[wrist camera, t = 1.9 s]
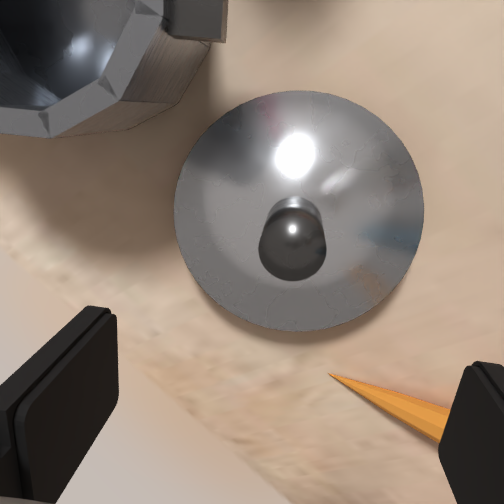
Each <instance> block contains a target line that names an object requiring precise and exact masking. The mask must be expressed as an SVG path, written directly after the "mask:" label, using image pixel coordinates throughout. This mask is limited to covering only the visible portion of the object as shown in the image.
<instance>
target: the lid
mask: <svg viewBox="0 0 504 504" xmlns="http://www.w3.org/2000/svg"><path fill="white" fill-rule="evenodd" d="M423 222H424V201H423V192H422V187H421V183H420V179H419V175H418V172H417V170H416V167H415V165H414V162H413V160H412V158H411V156H410V154H409V153H408V151H407V149H406V148H405V146H404V144H403V143H402V141H401V140H400V139H399V138H398V137H397V135H396V134H395V133H394V132H393V131H392V129H391V128H390V127H388V126H387V125H386V124H385V123H384V122H383V121H382V120H381V119H379V118H378V117H377V116H376V115H374V114H373V113H371V112H370V111H368V110H367V109H365V108H364V107H362V106H360V105H358V104H355V103H353V102H351V101H349V100H347V99H344V98H341V97H338V96H334V95H331V94H327V93H321V92H314V91H286V92H278V93H272V94H269V95H265V96H261V97H258V98H255V99H253V100H250V101H248V102H246V103H243V104H241V105H239V106H238V107H236V108H234V109H233V110H231V111H229V112H228V113H226V114H225V115H223V116H222V117H221V118H220V119H218V120H217V121H216V122H215V123H213V124H212V125H211V126H210V127H209V128H208V129H207V131H206V132H205V133H204V134H203V135H202V136H201V137H200V138H199V140H198V141H197V143H196V144H195V145H194V147H193V148H192V150H191V151H190V153H189V155H188V157H187V159H186V161H185V163H184V165H183V167H182V170H181V173H180V176H179V179H178V182H177V187H176V192H175V199H174V226H175V231H176V237H177V241H178V244H179V248H180V251H181V254H182V256H183V258H184V260H185V263H186V265H187V267H188V269H189V270H190V272H191V273H192V275H193V277H194V278H195V280H196V281H197V282H198V283H199V285H200V286H201V287H202V288H203V290H204V291H205V292H206V293H207V294H208V295H209V296H210V297H211V298H212V299H213V300H214V301H216V302H217V303H218V304H219V305H221V306H222V307H223V308H225V309H226V310H228V311H229V312H231V313H233V314H234V315H236V316H238V317H239V318H242V319H244V320H246V321H248V322H251V323H253V324H256V325H260V326H263V327H266V328H271V329H276V330H282V331H295V332H297V331H314V330H320V329H326V328H330V327H333V326H337V325H340V324H343V323H345V322H348V321H350V320H353V319H355V318H357V317H358V316H360V315H362V314H364V313H366V312H367V311H369V310H370V309H372V308H373V307H374V306H376V305H377V304H379V303H380V302H381V301H382V300H383V299H384V298H385V297H386V296H387V295H389V294H390V293H391V291H392V290H393V289H394V288H395V287H396V286H397V284H398V283H399V282H400V281H401V279H402V278H403V276H404V275H405V273H406V272H407V270H408V269H409V267H410V265H411V263H412V260H413V258H414V256H415V254H416V251H417V248H418V245H419V242H420V239H421V234H422V228H423Z"/></svg>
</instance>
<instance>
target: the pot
mask: <svg viewBox="0 0 504 504" xmlns="http://www.w3.org/2000/svg"><path fill="white" fill-rule="evenodd" d="M227 15H228V0H0V133H3V134H12V135H22V136H31V137H41V138H50V139H51V138H59V137H68V136H77V135H85V134H94V133H102V132H111V131H120V130H128V129H130V128H132V127H134V126H136V125H138V124H140V123H142V122H144V121H146V120H148V119H149V118H151V117H153V116H155V115H157V114H159V113H161V112H163V111H165V110H166V109H168V108H170V107H172V106H174V105H176V104H177V103H178V102H179V101H180V99H181V97H182V95H183V94H184V92H185V90H186V89H187V87H188V85H189V83H190V82H191V80H192V78H193V76H194V75H195V73H196V71H197V70H198V68H199V66H200V64H201V63H202V61H203V59H204V57H205V56H206V54H207V52H208V51H209V48H210V42H217V43H226V32H227Z"/></svg>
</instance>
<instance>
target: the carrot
mask: <svg viewBox="0 0 504 504" xmlns="http://www.w3.org/2000/svg"><path fill="white" fill-rule="evenodd" d="M328 374H329V373H328ZM330 375H331V376H333V377H334V378H336V379H337V380H339V381H340V382H342V383H343V384H345V385H346V386H348V387H349V388H351V389H352V390H354V391H355V392H357V393H358V394H360V395H361V396H363V397H364V398H366V399H368V400H369V401H371V402H372V403H374V404H375V405H377V406H378V407H380V408H381V409H383V410H384V411H386V412H387V413H389V414H390V415H392V416H394V417H395V418H397V419H399V420H400V421H402V422H404V423H405V424H407V425H409V426H411V427H412V428H414V429H416V430H417V431H419V432H421V433H422V434H424V435H426V436H427V437H429V438H431V439H433V440H434V441H436V442H438V443H440V440H441V437H442V434H443V431H444V428H445V425H446V422H447V419H448V416H449V413H450V410H449V409H446V408H443V407H440V406H437V405H434V404H431V403H428V402H425V401H422V400H419V399H416V398H413V397H410V396H407V395H404V394H401V393H398V392H394V391H391V390H387V389H383V388H380V387H376V386H373V385H369V384H365V383H362V382H358V381H354V380H351V379H347V378H343V377H340V376H336V375H333V374H330Z"/></svg>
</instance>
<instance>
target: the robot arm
mask: <svg viewBox="0 0 504 504" xmlns="http://www.w3.org/2000/svg"><path fill="white" fill-rule="evenodd" d="M118 396H119V383H118V344H117V317H116V315H115V314H111V311H110V309H109V308H103V307H96V306H86V307H85V308H84V309H83V310H82V311H81V312H80V313H78V314H77V315H76V316H75V317H74V318H73V319H72V320H71V321H70V322H69V323H68V324H67V325H66V326H64V327H63V328H62V329H61V330H60V331H59V332H58V333H57V334H56V335H55V336H53V337H52V338H51V339H50V340H49V341H48V342H47V343H46V344H45V345H44V346H43V347H42V348H41V349H40V350H38V351H37V352H36V353H35V354H34V355H33V356H32V357H31V358H30V359H29V360H27V361H26V362H25V363H24V364H23V365H22V366H21V367H20V368H19V369H18V370H17V371H15V372H14V374H12V375H11V376H10V377H9V378H8V379H7V380H6V381H5V382H4V383H3V384H1V385H0V504H55V503H56V502H57V500H58V499H59V497H60V495H61V494H62V492H63V491H64V489H65V488H66V486H67V484H68V482H69V481H70V479H71V478H72V476H73V475H74V473H75V471H76V470H77V468H78V467H79V465H80V463H81V462H82V460H83V458H84V457H85V455H86V454H87V452H88V450H89V449H90V447H91V446H92V444H93V442H94V441H95V439H96V437H97V436H98V434H99V432H100V431H101V429H102V428H103V426H104V425H105V423H106V421H107V420H108V418H109V416H110V415H111V413H112V412H113V410H114V408H115V406H116V404H117V401H118ZM438 454H439V459H440V462H441V465H442V467H443V470H444V472H445V475H446V477H447V480H448V482H449V484H450V487H451V489H452V492H453V494H454V497H455V499H456V502H457V504H504V367H503V366H502V365H500V364H494V363H487V362H480V361H476V362H474V363H473V364H472V366H467V367H466V368H465V370H464V372H463V375H462V378H461V381H460V384H459V387H458V390H457V393H456V396H455V399H454V402H453V405H452V408H451V410H450V413H449V416H448V419H447V422H446V425H445V428H444V431H443V434H442V437H441V440H440V443H439V448H438Z"/></svg>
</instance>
